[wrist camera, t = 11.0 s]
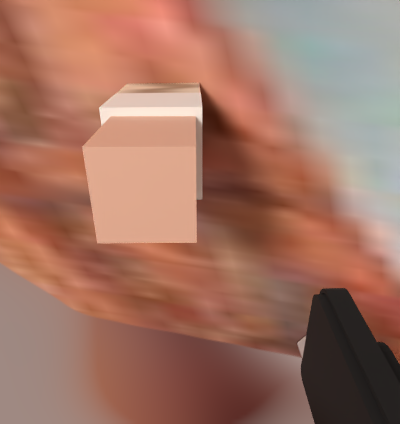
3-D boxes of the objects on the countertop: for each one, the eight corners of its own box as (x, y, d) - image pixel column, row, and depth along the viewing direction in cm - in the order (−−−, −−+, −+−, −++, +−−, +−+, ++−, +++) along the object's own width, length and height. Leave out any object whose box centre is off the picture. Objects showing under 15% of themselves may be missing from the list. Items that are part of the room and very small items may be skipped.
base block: (199, 82, 30) (200, 92, 25) (200, 152, 32) (201, 172, 28) (127, 83, 30) (115, 94, 25) (134, 153, 32) (124, 173, 28)
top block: (195, 115, 21) (196, 146, 16) (196, 193, 23) (196, 242, 18) (110, 116, 21) (82, 147, 16) (119, 193, 23) (97, 243, 18)
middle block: (200, 92, 25) (202, 106, 21) (201, 172, 28) (202, 199, 24) (115, 93, 25) (99, 107, 21) (124, 172, 28) (111, 200, 23)
